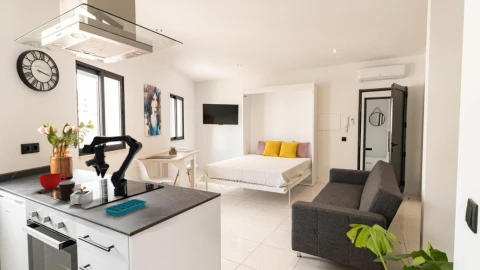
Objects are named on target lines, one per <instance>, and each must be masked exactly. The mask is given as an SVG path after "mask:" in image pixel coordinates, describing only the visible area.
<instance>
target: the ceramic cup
mask: <svg viewBox="0 0 480 270" xmlns="http://www.w3.org/2000/svg"><path fill="white" fill-rule="evenodd" d="M63 176H64V178H63V179H62V177H63ZM38 177H39V178H38V179H39V184H40V186H41V187H42V188H43V189H45V190H54V189H55V190H56V189H57V188H58V187H59V183H62V182H65V180H67V178H68V176H67V174H62V173H59V172H57V173H55V172H53V173H47V174H41V175H39V176H38Z"/></svg>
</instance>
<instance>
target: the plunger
mask: <svg viewBox="0 0 480 270" xmlns="http://www.w3.org/2000/svg"><path fill="white" fill-rule="evenodd" d="M76 189H77V190H76V191H81V194H83V191H85V190H86V189H87V187H86V186H79V187H77V188H76Z"/></svg>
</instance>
